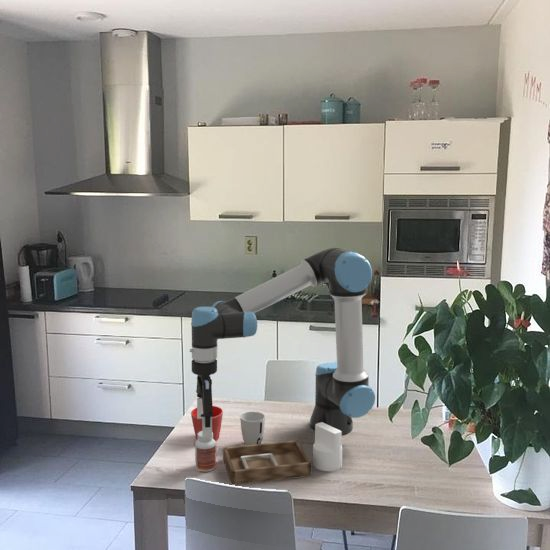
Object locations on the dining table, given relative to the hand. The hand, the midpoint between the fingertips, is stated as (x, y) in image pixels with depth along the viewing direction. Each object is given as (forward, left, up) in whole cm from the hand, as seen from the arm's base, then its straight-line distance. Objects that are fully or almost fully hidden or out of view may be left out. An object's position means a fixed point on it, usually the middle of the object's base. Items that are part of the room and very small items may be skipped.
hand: (204, 427), depth 186 cm
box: (-18, +4, -13) cm, 23 cm away
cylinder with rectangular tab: (-37, +6, -13) cm, 40 cm away
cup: (-17, -12, -13) cm, 25 cm away
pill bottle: (0, 0, -13) cm, 13 cm away
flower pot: (-3, -20, -13) cm, 24 cm away
